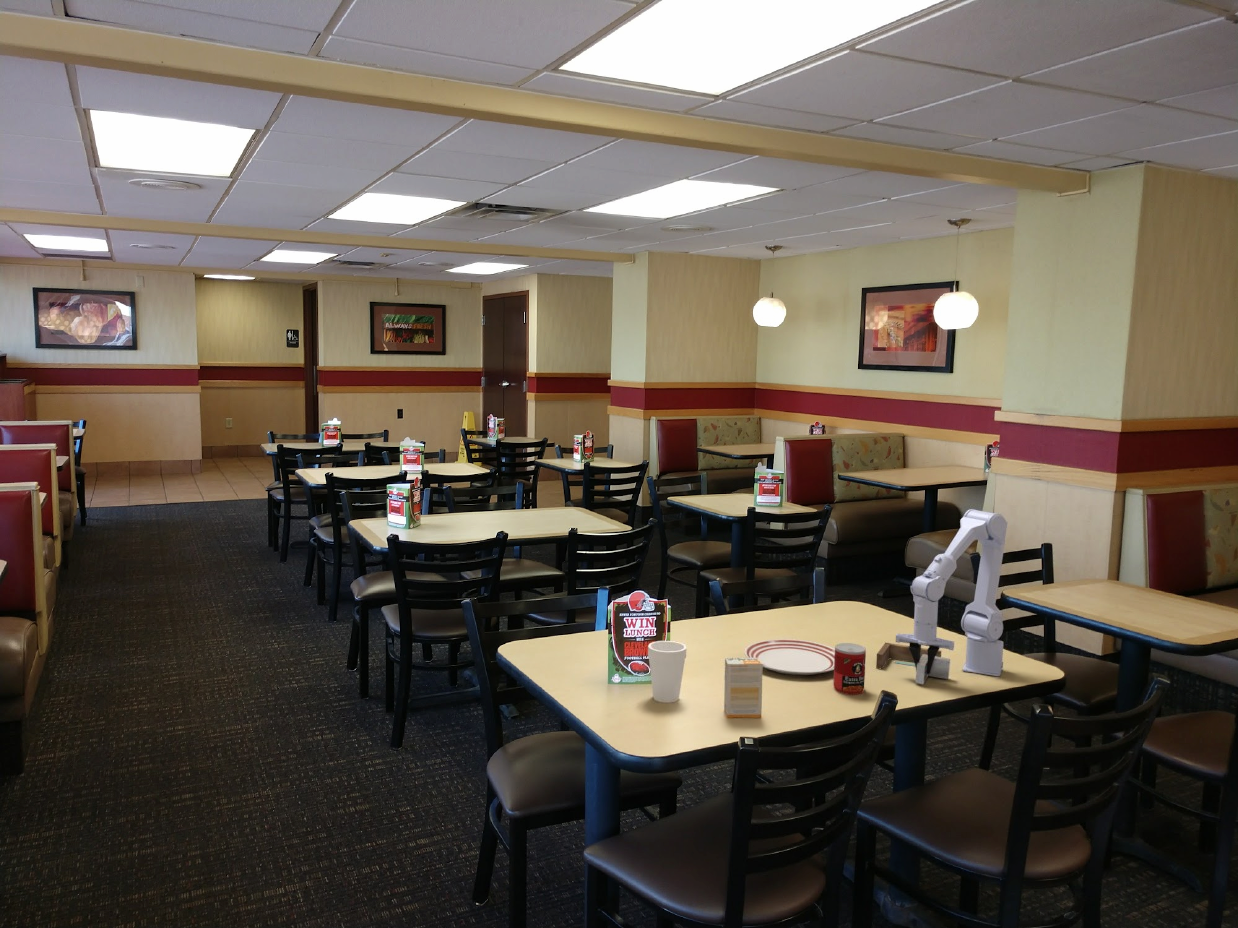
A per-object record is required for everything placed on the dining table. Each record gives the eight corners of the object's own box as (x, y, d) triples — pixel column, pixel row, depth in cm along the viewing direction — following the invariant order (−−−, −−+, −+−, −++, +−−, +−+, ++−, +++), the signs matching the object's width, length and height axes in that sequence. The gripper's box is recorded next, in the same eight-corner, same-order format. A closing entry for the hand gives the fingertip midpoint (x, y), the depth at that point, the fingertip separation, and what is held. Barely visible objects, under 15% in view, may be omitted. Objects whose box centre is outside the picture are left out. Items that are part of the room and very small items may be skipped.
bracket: (921, 671, 241) (922, 653, 240) (948, 676, 238) (950, 658, 237) (915, 682, 232) (916, 664, 231) (943, 688, 229) (945, 669, 228)
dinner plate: (856, 682, 234) (857, 669, 234) (752, 680, 234) (752, 668, 233) (831, 650, 261) (831, 639, 261) (737, 649, 261) (738, 638, 261)
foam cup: (693, 698, 219) (694, 646, 218) (667, 707, 213) (668, 654, 211) (664, 688, 226) (665, 638, 225) (639, 697, 219) (640, 645, 218)
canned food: (843, 695, 223) (844, 652, 222) (827, 685, 231) (829, 643, 230) (870, 693, 225) (872, 650, 224) (853, 682, 233) (855, 641, 232)
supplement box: (757, 710, 212) (759, 656, 211) (761, 718, 207) (763, 663, 206) (723, 710, 212) (724, 656, 210) (726, 718, 207) (727, 663, 206)
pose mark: (930, 666, 247) (930, 666, 247) (927, 673, 241) (927, 673, 241) (895, 661, 251) (895, 660, 251) (891, 667, 245) (891, 667, 245)
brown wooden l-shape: (940, 664, 249) (941, 650, 249) (934, 677, 238) (935, 662, 238) (884, 656, 256) (885, 642, 256) (876, 667, 245) (876, 653, 245)
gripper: (894, 621, 234) (892, 671, 236) (952, 629, 228) (950, 681, 229) (899, 615, 241) (897, 664, 242) (956, 622, 234) (953, 673, 235)
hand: (923, 672), depth 236 cm, fingers closed on bracket
